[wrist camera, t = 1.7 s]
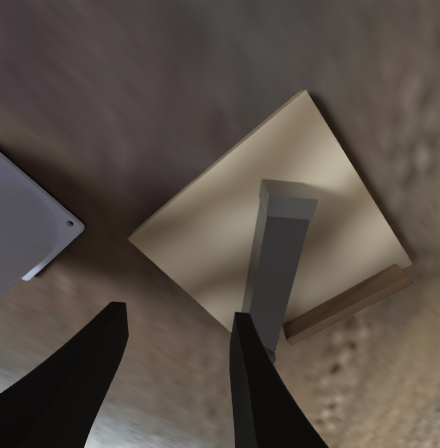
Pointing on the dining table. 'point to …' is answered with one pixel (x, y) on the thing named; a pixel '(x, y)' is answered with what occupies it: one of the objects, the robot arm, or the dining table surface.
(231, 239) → the stool seat
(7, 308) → the dining table surface
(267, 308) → the folding leg
